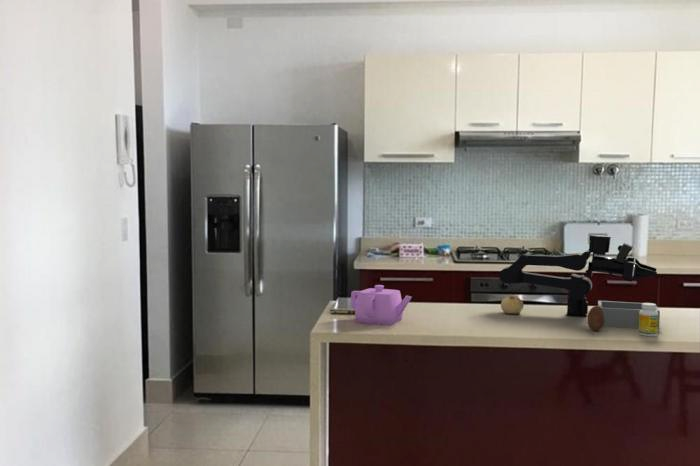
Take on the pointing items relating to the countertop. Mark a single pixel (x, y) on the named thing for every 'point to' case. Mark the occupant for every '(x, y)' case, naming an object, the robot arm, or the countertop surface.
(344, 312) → the countertop surface
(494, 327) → the countertop surface
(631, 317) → the tote
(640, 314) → the supplement bottle
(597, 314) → the coconut
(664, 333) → the countertop surface
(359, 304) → the teakettle
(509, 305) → the onion
